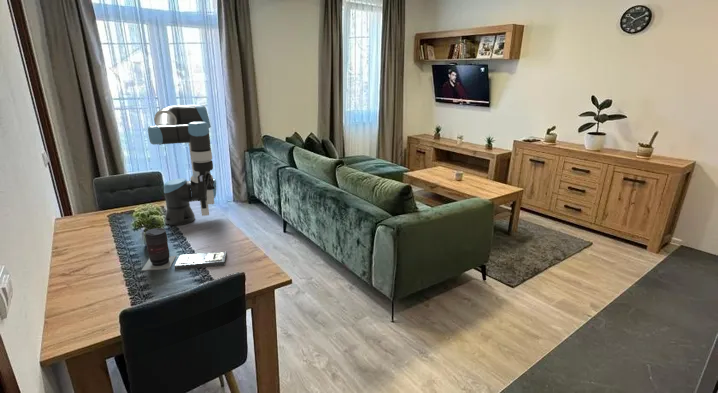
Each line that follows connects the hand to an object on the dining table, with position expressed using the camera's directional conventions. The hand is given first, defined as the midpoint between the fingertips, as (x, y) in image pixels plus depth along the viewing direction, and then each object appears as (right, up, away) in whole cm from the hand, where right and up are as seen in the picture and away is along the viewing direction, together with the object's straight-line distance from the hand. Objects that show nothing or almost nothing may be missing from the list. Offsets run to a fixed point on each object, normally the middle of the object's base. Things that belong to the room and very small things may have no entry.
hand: (208, 209), depth 158 cm
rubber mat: (-24, -24, +5) cm, 34 cm away
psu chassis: (-6, -24, +7) cm, 25 cm away
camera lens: (-23, -24, +5) cm, 33 cm away
